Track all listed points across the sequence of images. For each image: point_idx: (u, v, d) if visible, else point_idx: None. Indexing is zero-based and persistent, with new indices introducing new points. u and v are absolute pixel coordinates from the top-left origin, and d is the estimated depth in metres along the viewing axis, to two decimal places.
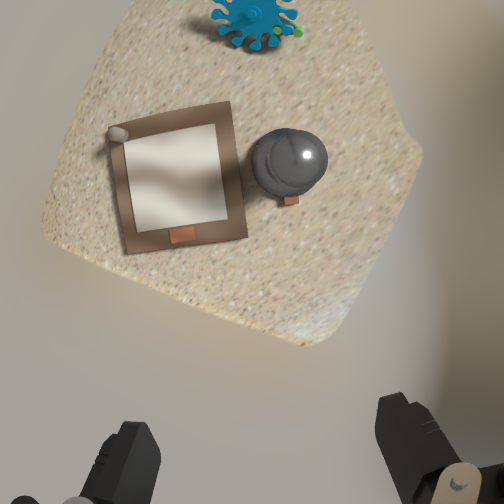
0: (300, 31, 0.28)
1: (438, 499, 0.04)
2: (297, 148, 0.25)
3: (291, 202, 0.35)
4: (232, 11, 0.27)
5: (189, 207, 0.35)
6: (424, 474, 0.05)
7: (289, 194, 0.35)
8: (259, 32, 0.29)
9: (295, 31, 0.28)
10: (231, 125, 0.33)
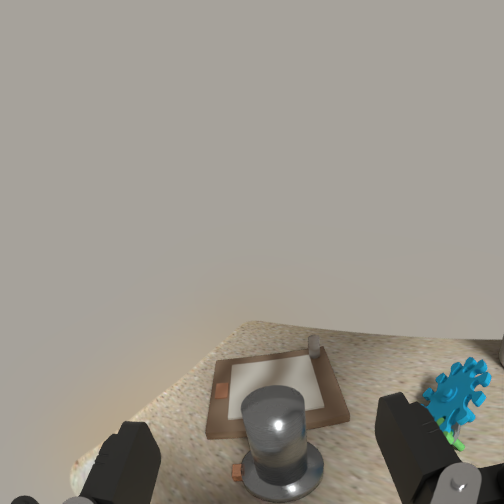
0: (446, 435, 0.20)
1: (438, 499, 0.04)
2: (283, 402, 0.22)
3: (234, 469, 0.25)
4: (446, 383, 0.27)
5: (245, 394, 0.36)
6: (424, 474, 0.05)
7: (243, 468, 0.25)
8: (432, 413, 0.25)
9: (444, 432, 0.21)
10: (323, 418, 0.30)
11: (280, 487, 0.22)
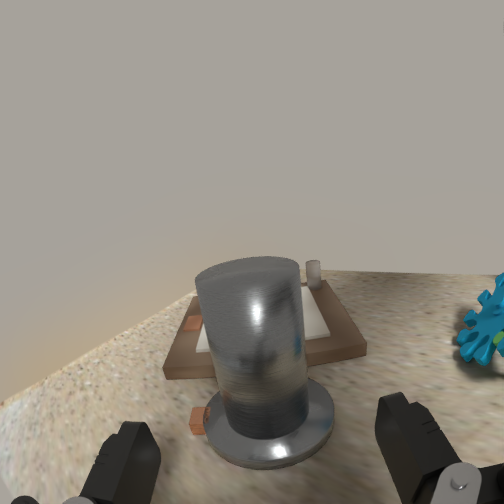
0: None
1: (438, 499, 0.04)
2: (264, 269, 0.15)
3: (194, 415, 0.17)
4: (494, 296, 0.19)
5: None
6: (424, 474, 0.05)
7: (208, 413, 0.17)
8: (484, 332, 0.17)
9: None
10: (329, 348, 0.22)
11: (264, 442, 0.15)
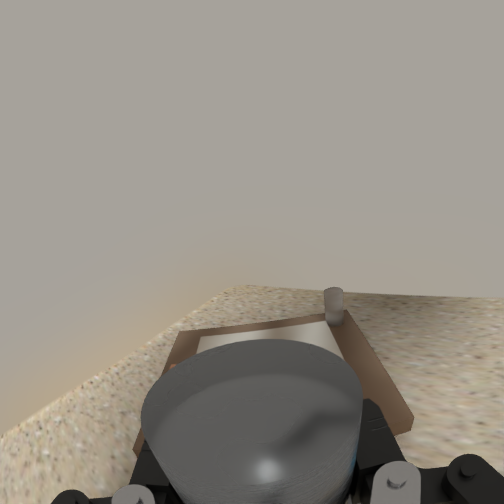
0: None
1: (371, 495, 0.05)
2: (287, 390, 0.06)
3: None
4: None
5: None
6: (361, 468, 0.06)
7: None
8: None
9: None
10: None
11: None
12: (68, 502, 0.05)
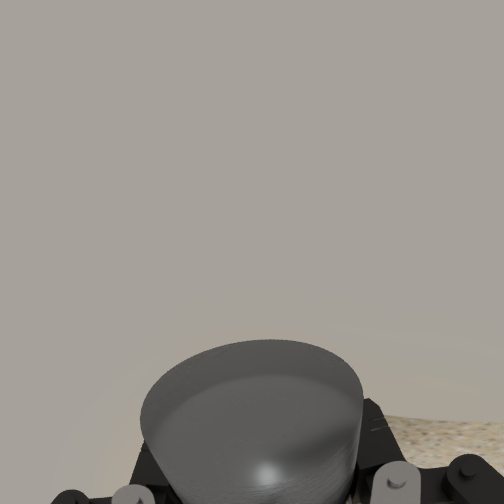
0: None
1: (371, 495, 0.05)
2: (287, 391, 0.06)
3: None
4: None
5: None
6: (361, 469, 0.06)
7: None
8: None
9: None
10: None
11: None
12: (68, 502, 0.05)
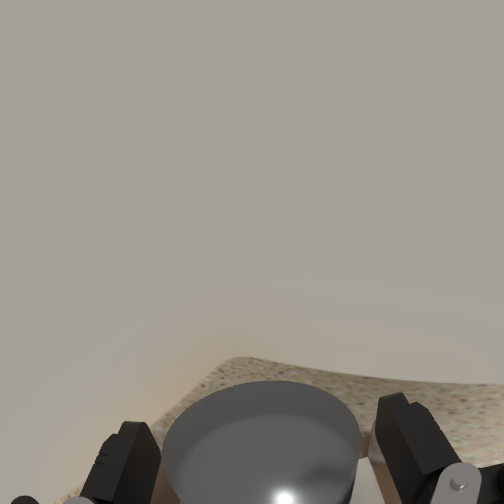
0: None
1: (438, 499, 0.04)
2: (293, 435, 0.07)
3: None
4: None
5: None
6: (424, 474, 0.05)
7: None
8: None
9: None
10: None
11: None
12: None
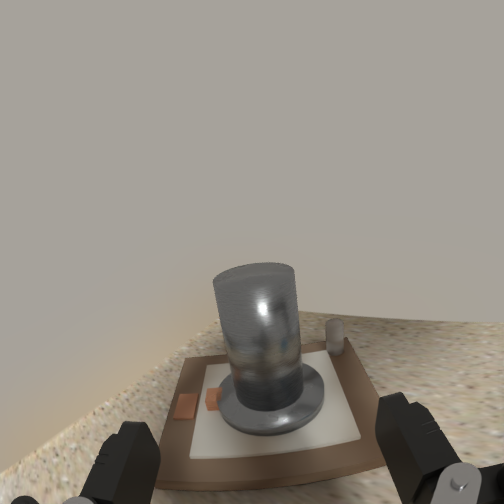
0: None
1: (438, 499, 0.04)
2: (267, 273, 0.19)
3: (208, 394, 0.22)
4: None
5: None
6: (424, 474, 0.05)
7: (220, 392, 0.22)
8: None
9: None
10: (360, 460, 0.15)
11: (267, 413, 0.19)
12: None
